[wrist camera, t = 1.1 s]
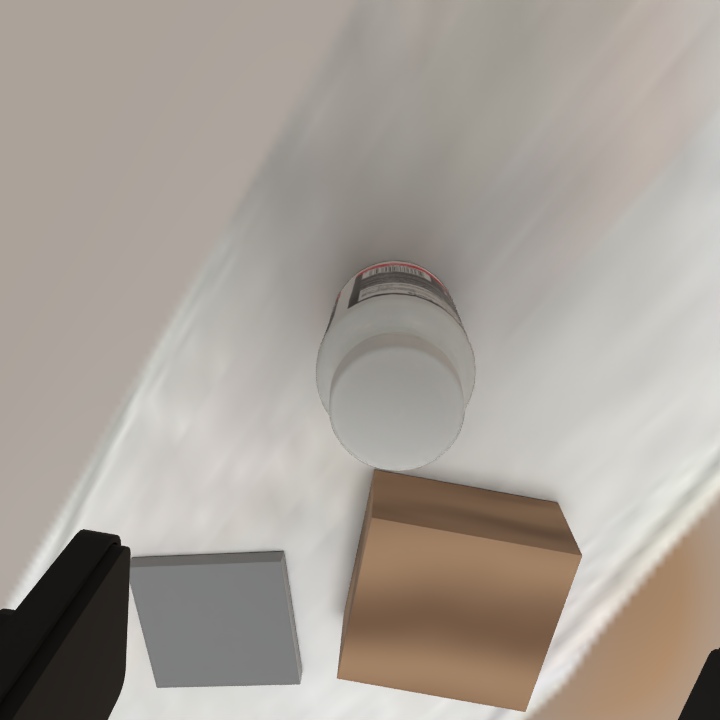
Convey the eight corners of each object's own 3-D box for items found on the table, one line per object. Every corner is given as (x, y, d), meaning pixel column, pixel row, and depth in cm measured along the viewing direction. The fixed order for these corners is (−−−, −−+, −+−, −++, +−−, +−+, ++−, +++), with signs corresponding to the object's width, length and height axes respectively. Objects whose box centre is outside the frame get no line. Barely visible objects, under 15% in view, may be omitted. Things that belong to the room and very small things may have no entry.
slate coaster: (132, 557, 32) (126, 567, 31) (283, 551, 31) (281, 561, 31) (162, 675, 35) (156, 687, 34) (302, 672, 34) (300, 684, 33)
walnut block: (374, 469, 29) (371, 517, 26) (558, 502, 30) (582, 555, 26) (343, 616, 32) (337, 678, 29) (510, 645, 33) (525, 711, 29)
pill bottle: (403, 399, 28) (408, 523, 19) (308, 329, 27) (266, 424, 18) (481, 309, 27) (529, 398, 17) (384, 232, 26) (380, 283, 16)
